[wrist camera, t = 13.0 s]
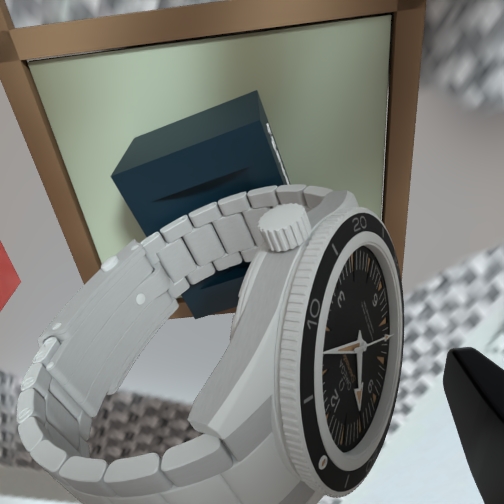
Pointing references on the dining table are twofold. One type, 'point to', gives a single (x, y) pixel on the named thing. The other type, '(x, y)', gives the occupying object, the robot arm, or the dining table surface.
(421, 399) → the dining table surface
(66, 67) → the brown flat frame
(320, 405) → the watch
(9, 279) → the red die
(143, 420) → the dining table surface
